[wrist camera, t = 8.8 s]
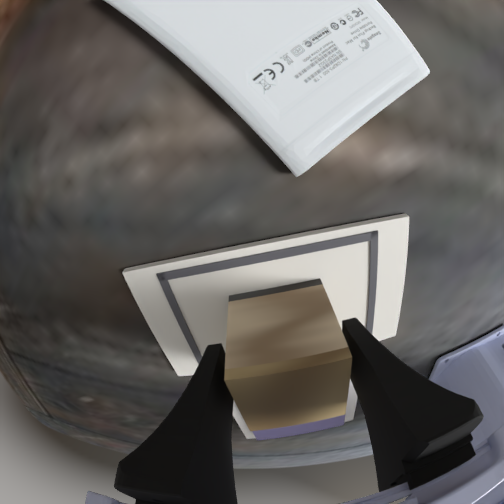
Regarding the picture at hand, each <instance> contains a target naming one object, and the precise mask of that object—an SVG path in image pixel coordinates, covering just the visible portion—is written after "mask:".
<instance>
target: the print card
mask: <svg viewBox="0 0 504 504" xmlns="http://www.w3.org/2000/svg"><path fill="white" fill-rule="evenodd" d="M408 234H409V216H408V215H407V214H405V213H404V214H399V215H394V216H388V217H383V218H377V219H372V220H367V221H361V222H356V223H350V224H345V225H340V226H335V227H329V228H324V229H319V230H314V231H308V232H303V233H298V234H293V235H288V236H283V237H277V238H272V239H267V240H262V241H257V242H252V243H247V244H242V245H237V246H232V247H227V248H222V249H217V250H212V251H207V252H202V253H197V254H192V255H187V256H182V257H177V258H173V259H168V260H163V261H158V262H153V263H148V264H144V265H139V266H134V267H129V268H125V269H124V271H123V272H122V273H123V275H124V278H125V280H126V282H127V284H128V286H129V288H130V290H131V292H132V294H133V296H134V298H135V300H136V302H137V304H138V306H139V308H140V310H141V312H142V314H143V316H144V318H145V320H146V322H147V323H148V325H149V327H150V329H151V331H152V332H153V334H154V336H155V338H156V340H157V341H158V343H159V345H160V347H161V348H162V350H163V352H164V353H165V355H166V357H167V358H168V360H169V362H170V363H171V365H172V367H173V368H174V370H175V371H176V373H177V374H178V376H188V375H194V373H195V371H196V369H197V367H198V365H199V363H200V360H201V358H202V356H203V354H204V352H205V349H206V347H207V346H208V345H212V344H219V343H222V346H223V348H224V351H225V353H226V336H227V318H228V301H229V295H234V294H240V293H246V292H251V291H257V290H263V289H268V288H273V287H279V286H284V285H289V284H294V283H299V282H305V281H310V280H314V279H319V278H320V279H321V282H322V284H323V286H324V289H325V291H326V293H327V296H328V298H329V300H330V303H331V305H332V308H333V310H334V312H335V315H336V317H337V320H338V322H339V325H340V327H341V330H342V320H346V319H351V318H357V319H358V320H359V321H360V322H361V323H362V324H363V326H364V327H365V328H366V329H367V330H368V331H369V332H370V333H371V334H372V335H373V336H374V337H375V338H376V339H377V340H378V341H380V340H383V339H387V338H390V337H393V336H396V331H397V326H398V321H399V315H400V309H401V303H402V296H403V288H404V280H405V272H406V261H407V250H408Z"/></svg>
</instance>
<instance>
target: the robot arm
mask: <svg viewBox="0 0 504 504" xmlns="http://www.w3.org/2000/svg"><path fill="white" fill-rule="evenodd" d="M342 332H343V335H344V337H345V340H346V342H347V345H348V347H349V350H350V353H351V355H352V365H351V375H350V379H351V382H352V384H353V387H354V389H355V392H356V394H357V396H358V399H359V402H360V404H361V407H362V409H363V412H364V415H365V419H366V423H367V427H368V431H369V435H370V440H371V444H372V449H373V454H374V460H375V465H376V472H377V479H378V487H379V493H375V494H372V495H369V496H366V497H363V498H359V499H355V500H352V501H348V502H344V503H340V504H389V503H391V502H394V501H397V500H399V499H402V498H404V497H407V496H408V497H407V498H406V500H405V501H403V502H401V503H398V504H504V325H503V326H501V327H499V328H498V329H496V330H494V331H492V332H491V333H489V334H487V335H485V336H483V337H481V338H479V339H478V340H476V341H474V342H472V343H470V344H468V345H466V346H464V347H461V348H459V349H457V350H455V351H453V352H451V353H448V354H446V355H444V356H442V357H440V358H439V359H438V360H437V361H436V363H435V366H434V368H433V370H432V373H431V375H430V377H429V379H427V378H425V377H424V376H422V375H420V374H419V373H417V372H416V371H414V370H413V369H412V368H410V367H409V366H407V365H406V364H405V363H403V362H402V361H401V360H400V359H398V358H397V357H396V356H395V355H394V354H392V353H391V352H390V351H389V350H388V349H387V348H386V347H385V346H384V345H382V344H381V343H380V342H379V341H378V340H377V339H376V338H375V337H374V336H373V335H372V334H371V333H370V332H369V331H368V330H367V329H366V328H365V327H364V326H363V324H362V323H361V322H360V321H359V320H358V319H357V318H351V319H346V320H342ZM225 354H226V353H225V351H224V348H223V346H222V343H219V344H212V345H208V346H207V347H206V349H205V352H204V354H203V356H202V358H201V360H200V363H199V365H198V367H197V369H196V371H195V373H194V375H193V376H192V378H191V380H190V382H189V384H188V386H187V387H186V389H185V391H184V392H183V394H182V396H181V397H180V399H179V400H178V402H177V403H176V405H175V406H174V408H173V409H172V411H171V412H170V413H169V415H168V416H167V417H166V418H165V420H164V421H163V422H162V423H161V424H160V426H159V427H158V428H157V429H156V430H155V431H154V432H153V433H152V434H151V435H150V436H149V437H148V438H147V439H146V440H145V441H144V442H143V443H142V444H141V445H140V446H139V447H138V448H137V449H135V450H134V451H133V452H132V453H130V454H129V455H128V456H127V457H125V458H124V459H123V460H121V461H120V462H119V465H118V468H117V474H116V478H115V484H114V487H115V489H117V490H118V491H120V492H122V493H124V494H126V495H128V496H131V497H133V498H135V499H136V503H135V504H237V497H236V490H235V481H234V472H233V460H232V443H231V431H232V416H233V401H234V399H233V397H232V395H231V393H230V391H229V389H228V387H227V385H226V383H225V381H224V375H225ZM85 504H126V503H122V502H119V501H117V500H115V499H113V498H110V497H107V496H104V495H101V494H98V493H94V492H91V491H88V492H87V497H86V502H85Z"/></svg>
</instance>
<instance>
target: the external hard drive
mask: <svg viewBox="0 0 504 504" xmlns="http://www.w3.org/2000/svg"><path fill="white" fill-rule="evenodd" d="M104 1H105V2H107V3H108V4H110V5H111V6H113V7H114V8H115V9H117V10H118V11H120V12H121V13H122V14H123V15H125V16H127V17H128V18H129V19H131V20H132V21H133V22H135V23H136V24H137V25H138V26H140V27H141V28H142V29H144V30H145V31H146V32H147V33H149V34H150V35H151V36H152V37H154V38H155V39H156V40H157V41H159V42H160V43H161V44H162V45H163V46H165V47H166V48H167V49H168V50H169V51H171V52H172V53H173V54H174V55H175V56H176V57H178V58H179V59H180V60H181V61H182V62H183V63H184V64H186V65H187V66H188V67H189V68H190V69H191V70H192V71H193V72H194V73H196V74H197V75H198V76H199V77H200V78H201V79H202V80H203V81H204V82H205V83H206V84H207V85H209V86H210V87H211V88H212V89H213V90H214V91H215V92H216V93H217V94H218V95H219V96H220V97H221V98H222V99H223V100H224V101H225V102H226V103H227V104H228V105H229V106H230V107H231V108H232V109H233V110H234V111H235V112H236V113H237V114H238V115H239V116H240V117H241V118H242V119H243V120H244V121H245V122H246V123H247V124H248V125H249V126H250V127H251V128H252V129H253V130H254V131H255V132H256V133H257V134H258V135H259V136H260V138H261V139H262V140H263V141H264V142H265V143H266V144H267V145H268V146H269V147H270V148H271V149H272V150H273V152H274V153H275V154H276V155H277V156H278V157H279V158H280V159H281V160H282V162H283V163H284V164H285V165H286V166H287V167H288V168H289V169H290V171H291V172H292V173H293V174H294V175H295V176H296V177H298V176H300V175H301V174H303V173H304V172H305V171H307V170H308V169H309V168H310V167H312V166H313V165H314V164H315V163H316V162H318V161H319V160H320V159H321V158H322V157H324V156H325V155H326V154H327V153H329V152H330V151H331V150H332V149H333V148H335V147H336V146H337V145H338V144H339V143H341V142H342V141H343V140H344V139H346V138H347V137H348V136H349V135H351V134H352V133H353V132H354V131H356V130H357V129H358V128H360V127H361V126H362V125H363V124H364V123H366V122H367V121H368V120H370V119H371V118H372V117H374V116H375V115H376V114H377V113H379V112H380V111H381V110H383V109H384V108H385V107H386V106H388V105H389V104H390V103H392V102H393V101H394V100H395V99H397V98H398V97H400V96H401V95H402V94H403V93H405V92H406V91H407V90H409V89H410V88H411V87H413V86H414V85H415V84H417V83H418V82H419V81H421V80H422V79H424V78H425V77H426V76H427V75H428V74H429V73H430V70H429V69H428V67H427V65H426V64H425V62H424V61H423V59H422V58H421V56H420V55H419V53H418V52H417V50H416V49H415V48H414V46H413V45H412V43H411V42H410V41H409V39H408V38H407V37H406V35H405V34H404V33H403V31H402V30H401V29H400V27H399V26H398V25H397V24H396V22H395V21H394V20H393V19H392V17H391V16H390V15H389V14H388V13H387V11H386V10H385V9H384V8H383V7H382V6H381V4H380V3H379V2H378V1H377V0H104Z"/></svg>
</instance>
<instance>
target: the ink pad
mask: <svg viewBox="0 0 504 504" xmlns="http://www.w3.org/2000/svg"><path fill="white" fill-rule="evenodd" d="M357 398H358V396H357V394H356V392H355V389H354V387H353V384H352V382H351V379H350V383H349V392H348V399H347V406H346V413H345V415H341V416H337V417H333V418H329V419H324V420H320V421H315V422H310V423H305V424H299V425H293V426H287V427H281V428H274V429H266V430H258V431H250V430H249V428H248V427H247V425H246V423H245V421H244V419H243V417H242V415H241V413H240V411H239V409H238V407H237V405H236V403H235V401H233V417H234V418H235V420H236V422H237V423H238V425H239V427H240V428H241V430H242V432H243V433H244V435H245V437H246V438H247V439H252V438H256V439H257V440H265V439H273V438H281V437H287V436H293V435H299V434H305V433H310V432H315V431H320V430H324V429H329V428H333V427H337V426H341V425H344V422H347V421H350V420H353V418H354V413H355V408H356V403H357Z"/></svg>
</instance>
